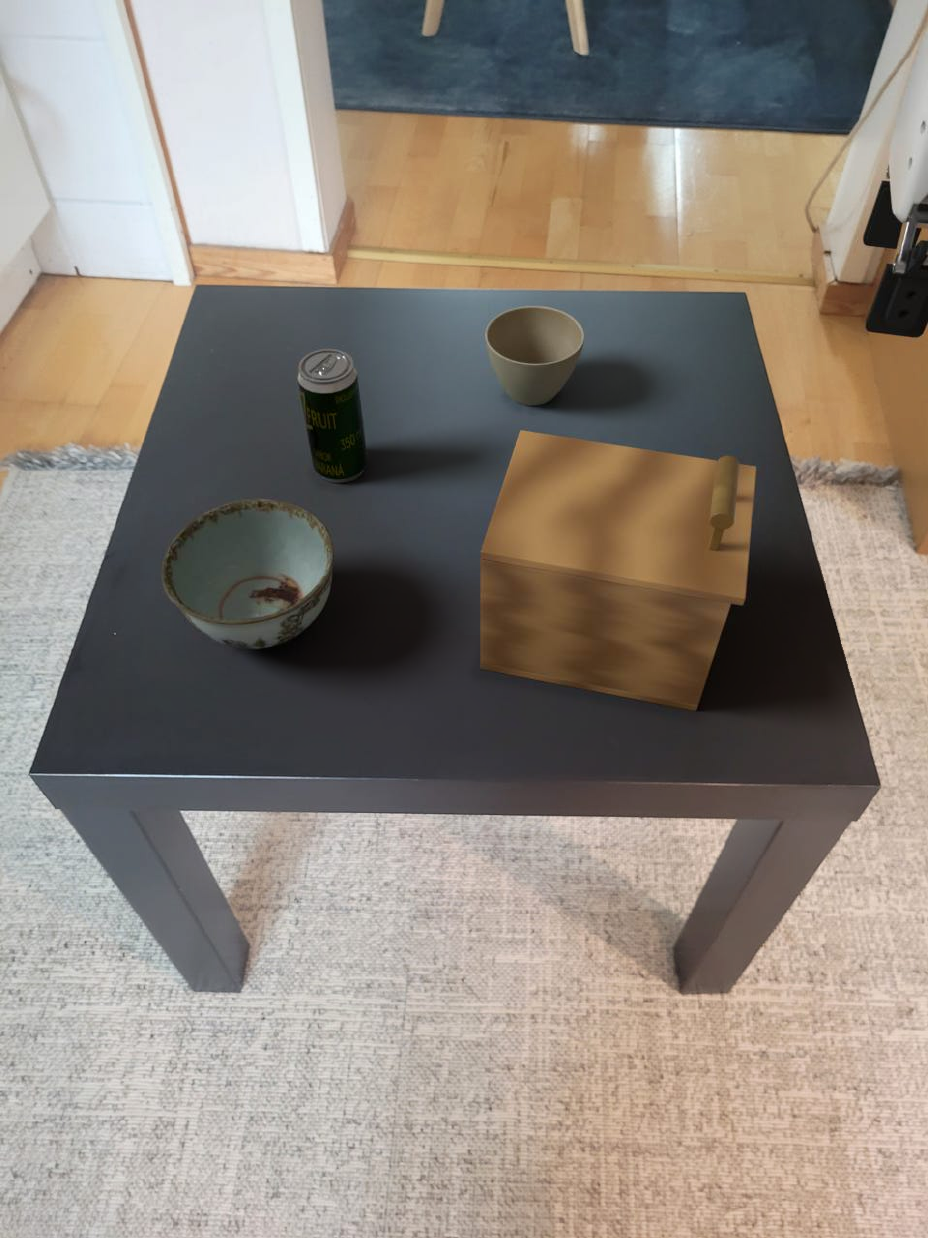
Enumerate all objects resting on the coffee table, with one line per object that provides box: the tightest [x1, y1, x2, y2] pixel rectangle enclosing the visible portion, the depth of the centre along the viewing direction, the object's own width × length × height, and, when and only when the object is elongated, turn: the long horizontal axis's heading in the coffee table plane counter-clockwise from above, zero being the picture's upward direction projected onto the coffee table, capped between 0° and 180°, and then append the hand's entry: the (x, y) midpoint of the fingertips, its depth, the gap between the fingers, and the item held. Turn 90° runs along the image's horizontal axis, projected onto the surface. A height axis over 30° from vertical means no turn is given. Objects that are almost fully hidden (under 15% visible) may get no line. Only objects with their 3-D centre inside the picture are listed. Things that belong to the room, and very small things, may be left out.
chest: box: [479, 558, 732, 712], centre depth 75 cm, size 18×14×13 cm
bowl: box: [161, 498, 335, 650], centre depth 78 cm, size 14×13×8 cm
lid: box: [480, 429, 757, 606], centre depth 68 cm, size 18×14×5 cm
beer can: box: [297, 348, 368, 484], centre depth 88 cm, size 5×5×12 cm
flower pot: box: [484, 305, 585, 407], centre depth 97 cm, size 10×10×7 cm
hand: (889, 286), depth 58 cm, fingers open, 9 cm apart
